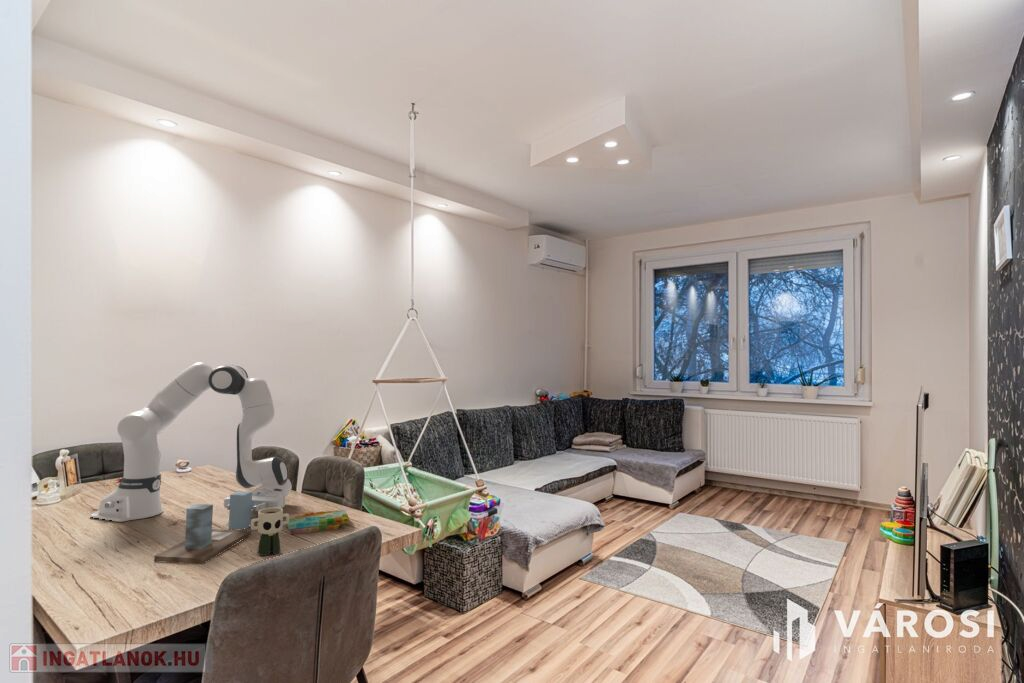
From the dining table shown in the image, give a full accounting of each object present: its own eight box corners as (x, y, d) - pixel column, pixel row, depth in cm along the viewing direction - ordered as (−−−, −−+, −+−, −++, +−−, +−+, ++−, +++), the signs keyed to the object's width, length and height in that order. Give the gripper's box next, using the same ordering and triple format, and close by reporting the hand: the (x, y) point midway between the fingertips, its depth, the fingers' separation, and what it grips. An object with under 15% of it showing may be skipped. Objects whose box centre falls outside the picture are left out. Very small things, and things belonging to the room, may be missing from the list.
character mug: (252, 560, 151) (254, 516, 152) (246, 553, 157) (248, 510, 157) (290, 552, 158) (292, 510, 158) (284, 545, 164) (286, 504, 164)
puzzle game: (287, 512, 183) (345, 507, 192) (286, 526, 183) (345, 520, 192) (288, 522, 173) (349, 516, 181) (287, 536, 173) (349, 529, 181)
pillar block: (228, 529, 177) (230, 494, 178) (237, 524, 182) (238, 490, 183) (242, 530, 177) (244, 495, 177) (250, 525, 182) (252, 491, 182)
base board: (154, 561, 149) (156, 514, 149) (207, 533, 173) (209, 493, 173) (203, 563, 148) (205, 516, 149) (250, 535, 172) (252, 494, 173)
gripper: (236, 488, 195) (213, 497, 181) (289, 490, 194) (269, 500, 180) (236, 504, 195) (213, 515, 181) (288, 507, 194) (269, 518, 180)
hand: (241, 508), depth 181 cm, fingers open, 8 cm apart
